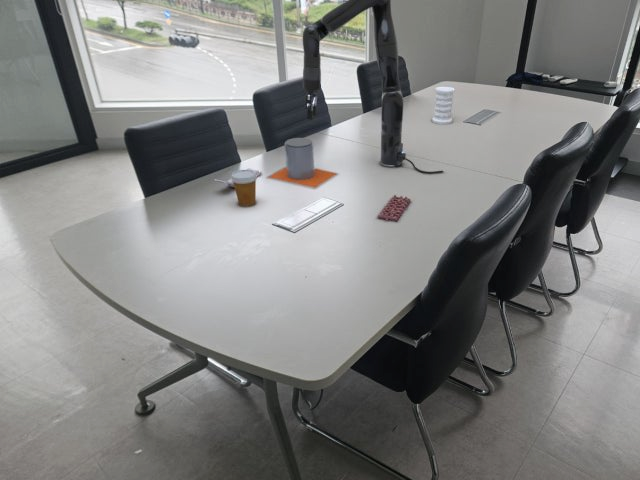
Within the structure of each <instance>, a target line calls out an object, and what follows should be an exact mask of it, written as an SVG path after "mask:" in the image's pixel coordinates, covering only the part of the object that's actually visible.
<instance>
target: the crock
mask: <svg viewBox="0 0 640 480" xmlns="http://www.w3.org/2000/svg"><path fill="white" fill-rule="evenodd" d="M284 152H285V153H284V155H285V156H284V157H285V165H286V167H287V176H288V177H289V178H290V179H294V180H306V179H310V178H312V177H314V175H315V169H316V168H315V152H314V141H313V140H311V139H310V138H306V137H293V138H289V139H287V140H286V141H285V142H284ZM286 167H285V168H286Z"/></svg>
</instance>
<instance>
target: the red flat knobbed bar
mask: <svg viewBox="0 0 640 480" xmlns="http://www.w3.org/2000/svg"><path fill="white" fill-rule="evenodd" d="M410 203H411V198H409V197H408V196H405V197H403V195H400V196H397V194H394V195H392V197H391V198H390V200H388V202H387V203H386V205H385V206H384V208H382V211H379V213H380V214H377V219H378V220H385V221H387V222H388V221H391V222H398V221H399V219H400V218H401V217H402V214H403V213H404V212H405V211H406V209H407V207H408V206H409V205H410Z"/></svg>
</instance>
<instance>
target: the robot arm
mask: <svg viewBox="0 0 640 480" xmlns="http://www.w3.org/2000/svg"><path fill="white" fill-rule="evenodd" d="M391 1H392V0H346V1H344V2H342V3H340V4H339V5H337V6H335V7H334V8H332V9H331V10H330V11H328V12H326V13H325V14H324V15H323V16H322V17H321V18H320V19H318V20H316V21H315V22H313V23H311V24H310V25H307V26H306V27H305V28H304V29H303V31H302V49H303V69H302V89H303V90H305V91H307V94H305V110H306V119H307V120H309V121H310V120H311V121H312V120H313V116H316V115H317V105H318V92H319V91H321V89H322V69H321V68H322V67H321V59H322V58H321V57H322V56H321V53H320V42H321V41H322V40H324V39H325V38H326V37H328V36H329V35H331V34H332V33H334V32H337V31H338V30H339V29H341V28H342V27H344V26H345V25H346V24H347V23H350V21H352V20H353V19H354V18H356V17H357V16H359V15H360V14H362V13H364V12H365V11H367V10H368V9H372V14H373V15H372V16H373V41H374V42H373V43H374V50H375V58H376V61H377V66H378V69H379V73H380V77H381V119H380V122H381V123H380V125H381V126H380V160H379V161H380V163H379V164H380V165H381V166H383V167H386V168H398V167H400V165H402V164H403V162H404V161H407V162H408V163H410V164H411V166H412V167H413V168H414V170H416V171H417V172H419V173H423V174H440V173H444V170H436V171H435V170H434V171H427V170H421V169H419V168H417V166H416V165H415V164H414V162H413V161H411V160H410V159H408V158H407V154H406V153H405V152H404V144H403V142H402V136H403V135H402V134H403V133H402V132H403V120H404V119H403V117H404V95H403V92H402V88H401V84H400V83H401V82H400V78H399V48H398V39H397V38H398V37H397V33H396V28H395V23H394V19H393V15H392V2H391Z"/></svg>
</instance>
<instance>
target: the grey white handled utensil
mask: <svg viewBox="0 0 640 480" xmlns="http://www.w3.org/2000/svg"><path fill="white" fill-rule="evenodd" d="M245 170H251V171H254V172H255V174H256V176H257V177H259V176H260V175H261V174H262V173H263V172H262V171H260V170H259V169H253V168H247V169H245ZM214 181H215V182H219V183H223V184H227V185H228V187H230V188H234V184H233V181H232V180H231V178H230V179H228V180H227V181H225V180H222V179H221V180H220V179H216V178H215V179H214Z"/></svg>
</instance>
